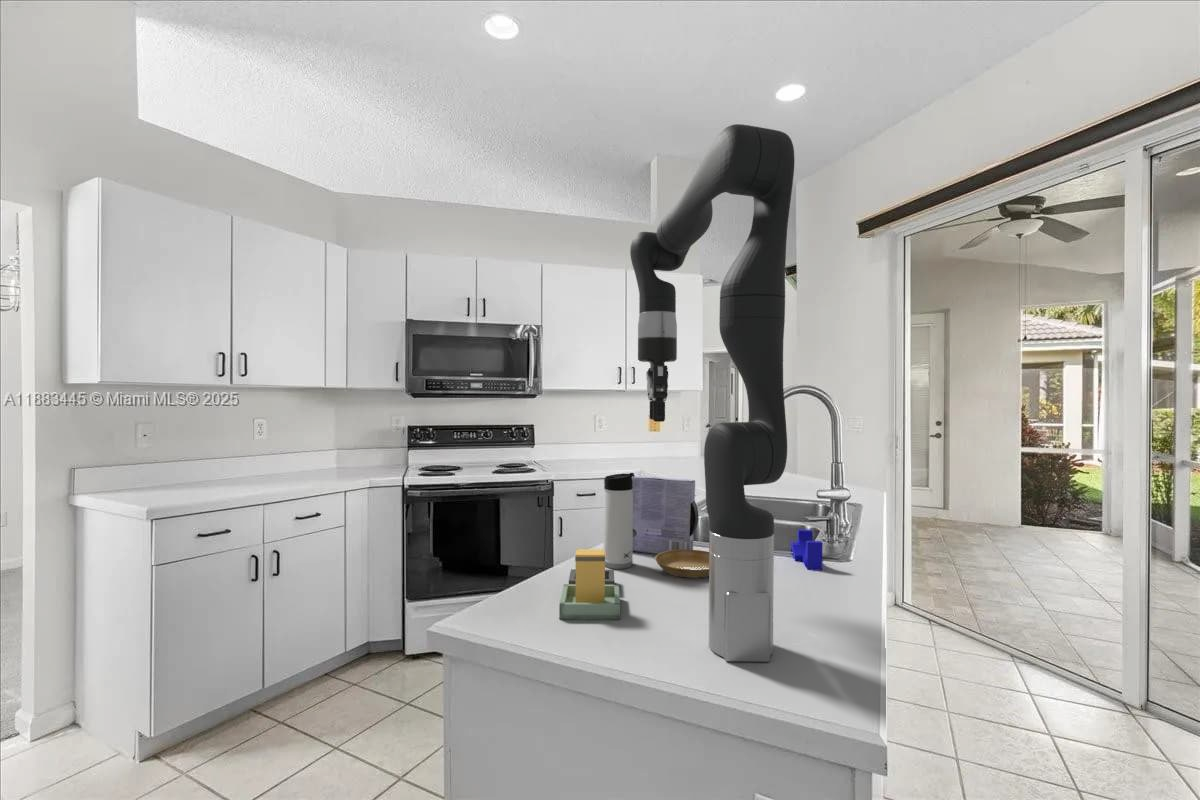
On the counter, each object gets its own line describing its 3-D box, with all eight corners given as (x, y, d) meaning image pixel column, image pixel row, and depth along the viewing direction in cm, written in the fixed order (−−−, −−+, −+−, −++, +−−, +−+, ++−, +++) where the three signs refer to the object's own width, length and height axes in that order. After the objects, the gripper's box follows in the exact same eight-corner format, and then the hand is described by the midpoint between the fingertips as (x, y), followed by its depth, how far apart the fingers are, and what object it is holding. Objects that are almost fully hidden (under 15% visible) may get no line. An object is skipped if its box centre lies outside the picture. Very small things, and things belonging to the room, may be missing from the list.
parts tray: (619, 619, 97) (619, 604, 97) (559, 619, 97) (559, 604, 97) (618, 598, 107) (618, 584, 107) (563, 597, 107) (563, 584, 107)
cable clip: (790, 554, 137) (790, 528, 137) (810, 555, 136) (811, 529, 136) (800, 570, 125) (800, 542, 125) (822, 571, 124) (822, 542, 124)
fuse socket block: (614, 594, 109) (614, 581, 109) (568, 594, 109) (568, 580, 109) (613, 582, 116) (613, 569, 116) (570, 581, 116) (570, 569, 116)
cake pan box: (698, 552, 137) (699, 477, 137) (694, 558, 133) (695, 480, 132) (620, 545, 144) (620, 473, 144) (614, 550, 139) (614, 476, 139)
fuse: (605, 607, 100) (605, 555, 100) (575, 607, 100) (575, 555, 100) (604, 600, 104) (605, 549, 104) (576, 600, 104) (576, 549, 104)
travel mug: (634, 569, 124) (635, 475, 124) (603, 569, 124) (603, 475, 124) (633, 561, 130) (633, 471, 130) (603, 560, 131) (604, 471, 130)
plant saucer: (732, 582, 117) (732, 569, 117) (658, 582, 117) (658, 569, 117) (717, 561, 132) (717, 549, 132) (652, 560, 132) (652, 549, 132)
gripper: (681, 333, 106) (681, 422, 107) (672, 340, 121) (672, 418, 121) (640, 333, 107) (639, 422, 107) (636, 340, 121) (635, 418, 121)
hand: (656, 420), depth 114 cm, fingers open, 8 cm apart
